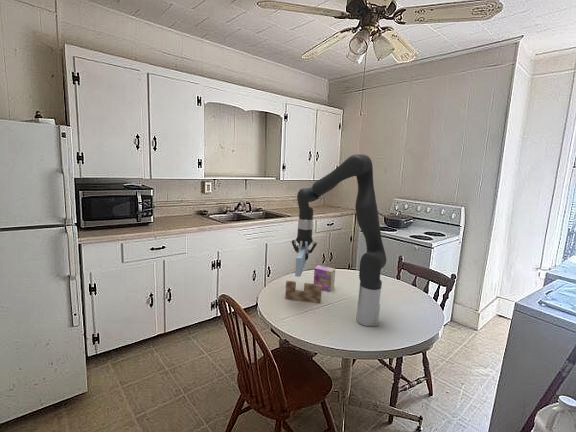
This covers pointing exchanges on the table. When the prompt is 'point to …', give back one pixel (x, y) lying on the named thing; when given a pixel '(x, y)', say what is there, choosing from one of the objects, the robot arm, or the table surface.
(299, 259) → the notched plate
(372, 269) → the robot arm
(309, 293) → the slotted board
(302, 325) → the table surface
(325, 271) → the box
